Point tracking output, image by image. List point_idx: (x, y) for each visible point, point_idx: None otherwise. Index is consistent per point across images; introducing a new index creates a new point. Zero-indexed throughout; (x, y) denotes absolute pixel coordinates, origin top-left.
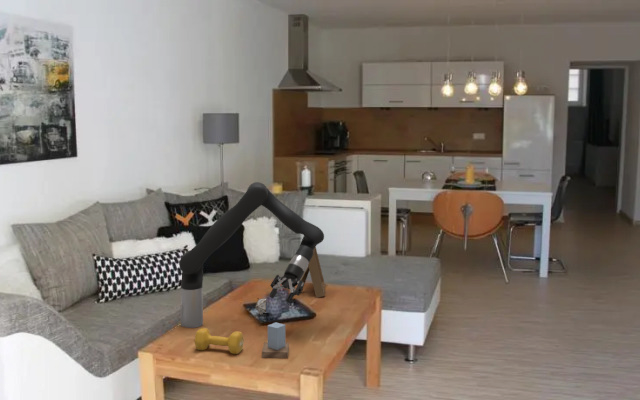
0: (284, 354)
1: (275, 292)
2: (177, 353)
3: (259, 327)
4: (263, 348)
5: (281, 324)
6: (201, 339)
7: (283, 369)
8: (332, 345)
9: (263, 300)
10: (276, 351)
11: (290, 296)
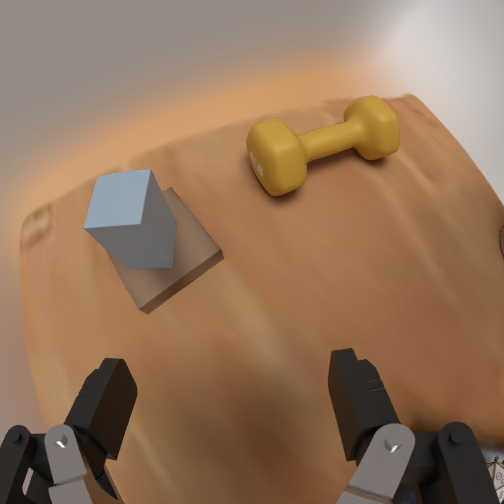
0: None
1: (345, 432)
2: None
3: (404, 404)
4: (183, 207)
5: (101, 220)
6: (349, 105)
7: (87, 188)
8: (60, 423)
9: (498, 490)
10: None
11: (82, 401)
